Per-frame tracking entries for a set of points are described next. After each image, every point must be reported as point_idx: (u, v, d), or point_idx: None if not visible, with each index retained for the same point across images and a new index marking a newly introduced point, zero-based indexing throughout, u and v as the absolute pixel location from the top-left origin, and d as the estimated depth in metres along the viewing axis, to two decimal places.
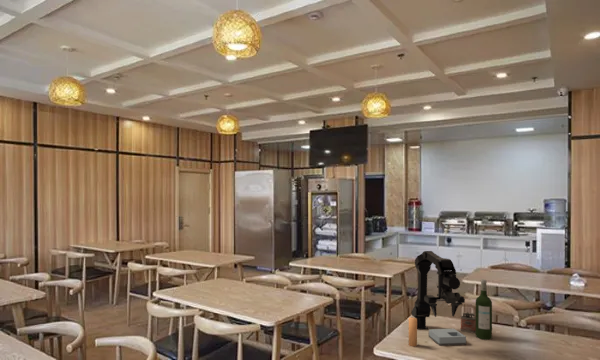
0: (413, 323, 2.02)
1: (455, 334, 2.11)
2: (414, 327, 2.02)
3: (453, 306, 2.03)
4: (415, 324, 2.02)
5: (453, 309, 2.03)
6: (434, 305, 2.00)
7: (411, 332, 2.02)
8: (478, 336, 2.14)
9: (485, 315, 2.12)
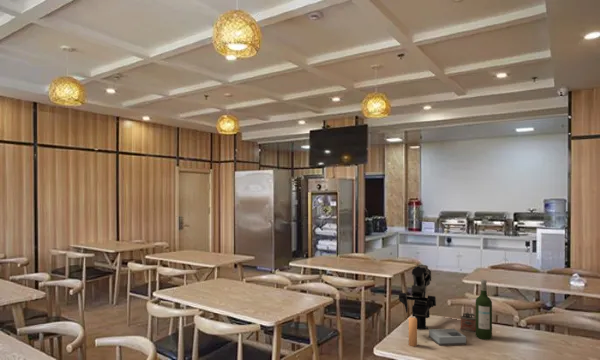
0: (413, 323, 2.02)
1: (455, 334, 2.11)
2: (414, 327, 2.02)
3: (426, 306, 2.12)
4: (415, 324, 2.02)
5: None
6: (404, 299, 2.16)
7: (411, 332, 2.02)
8: (478, 336, 2.14)
9: (485, 315, 2.12)
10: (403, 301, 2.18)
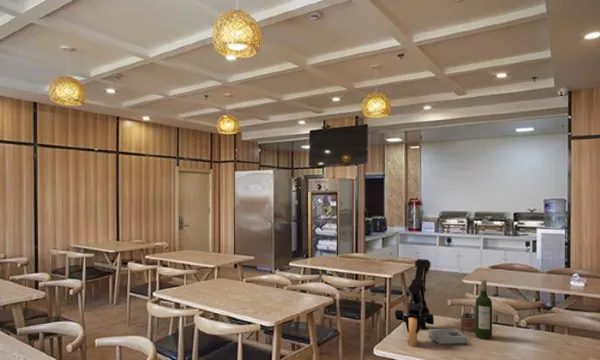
0: (413, 323, 2.02)
1: (455, 334, 2.11)
2: (414, 327, 2.02)
3: None
4: (415, 324, 2.02)
5: None
6: (405, 317, 2.06)
7: (411, 332, 2.02)
8: (478, 336, 2.14)
9: (485, 315, 2.12)
10: (404, 319, 2.09)
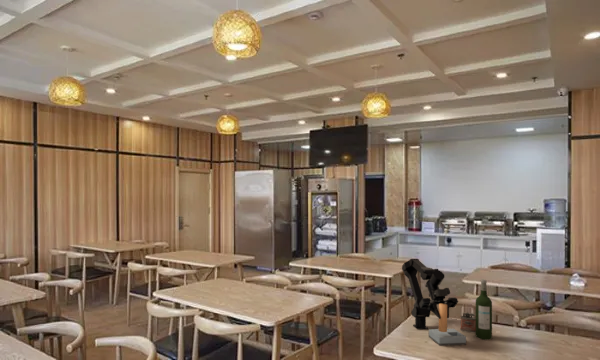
0: (445, 309, 2.03)
1: (455, 334, 2.11)
2: (446, 312, 2.03)
3: None
4: (446, 309, 2.04)
5: None
6: (434, 304, 2.06)
7: (444, 318, 2.03)
8: (478, 336, 2.14)
9: (485, 315, 2.12)
10: (431, 307, 2.08)
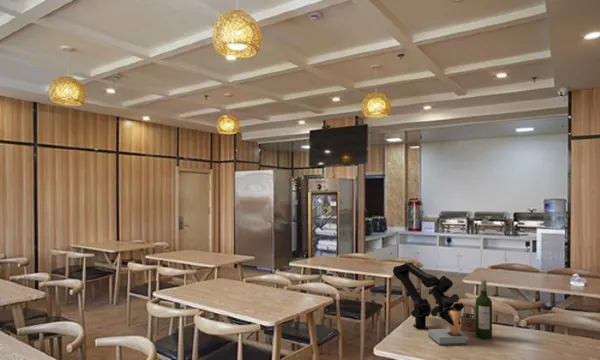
0: (458, 315, 2.07)
1: None
2: (458, 319, 2.08)
3: None
4: (458, 315, 2.08)
5: None
6: (447, 312, 2.08)
7: (456, 324, 2.07)
8: (478, 336, 2.14)
9: (485, 315, 2.12)
10: (442, 314, 2.10)
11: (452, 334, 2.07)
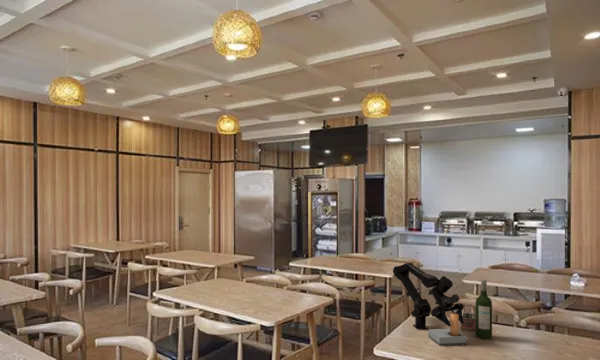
0: (458, 318, 2.07)
1: None
2: (458, 322, 2.08)
3: None
4: None
5: (459, 317, 2.11)
6: (443, 312, 2.07)
7: (456, 327, 2.07)
8: (478, 336, 2.14)
9: (485, 315, 2.12)
10: (439, 315, 2.09)
11: None
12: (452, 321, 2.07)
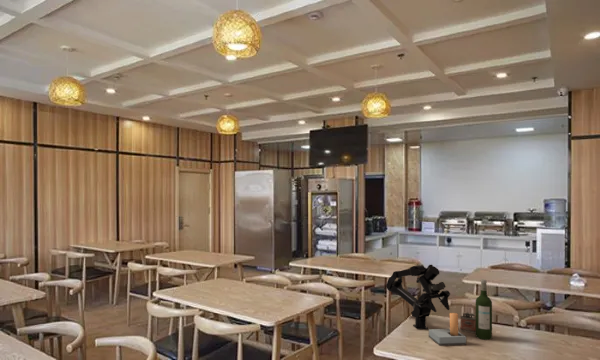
0: (457, 318, 2.07)
1: None
2: (457, 321, 2.08)
3: (444, 301, 2.21)
4: (457, 318, 2.08)
5: (445, 303, 2.20)
6: (429, 299, 2.16)
7: (456, 327, 2.07)
8: (478, 336, 2.14)
9: (485, 315, 2.12)
10: (425, 302, 2.17)
11: None
12: (452, 321, 2.08)
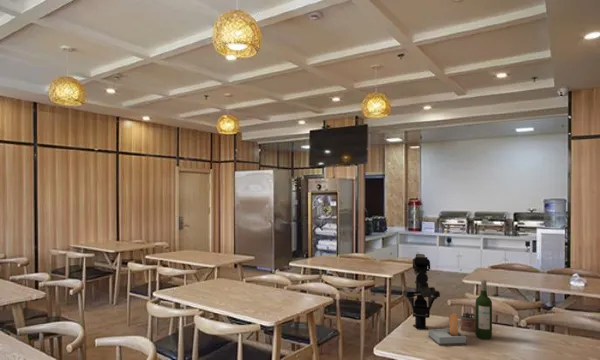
0: (456, 318, 2.07)
1: None
2: (457, 321, 2.08)
3: (429, 300, 2.20)
4: None
5: (429, 303, 2.20)
6: (412, 299, 2.17)
7: (456, 327, 2.07)
8: (478, 336, 2.14)
9: (485, 315, 2.12)
10: None
11: None
12: (451, 321, 2.07)
